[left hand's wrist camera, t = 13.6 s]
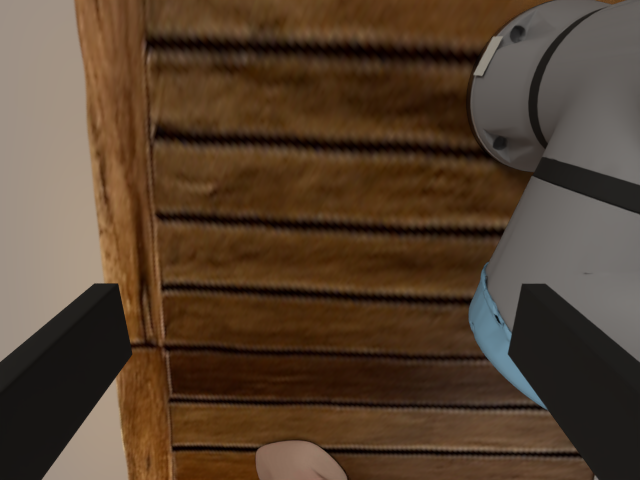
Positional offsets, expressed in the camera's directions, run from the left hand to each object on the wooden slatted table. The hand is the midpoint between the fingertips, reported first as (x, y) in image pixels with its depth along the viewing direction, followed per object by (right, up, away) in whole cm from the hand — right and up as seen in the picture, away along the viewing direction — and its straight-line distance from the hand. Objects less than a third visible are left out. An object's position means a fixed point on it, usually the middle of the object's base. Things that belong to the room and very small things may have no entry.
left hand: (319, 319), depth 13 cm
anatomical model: (-3, -31, +43) cm, 53 cm away
